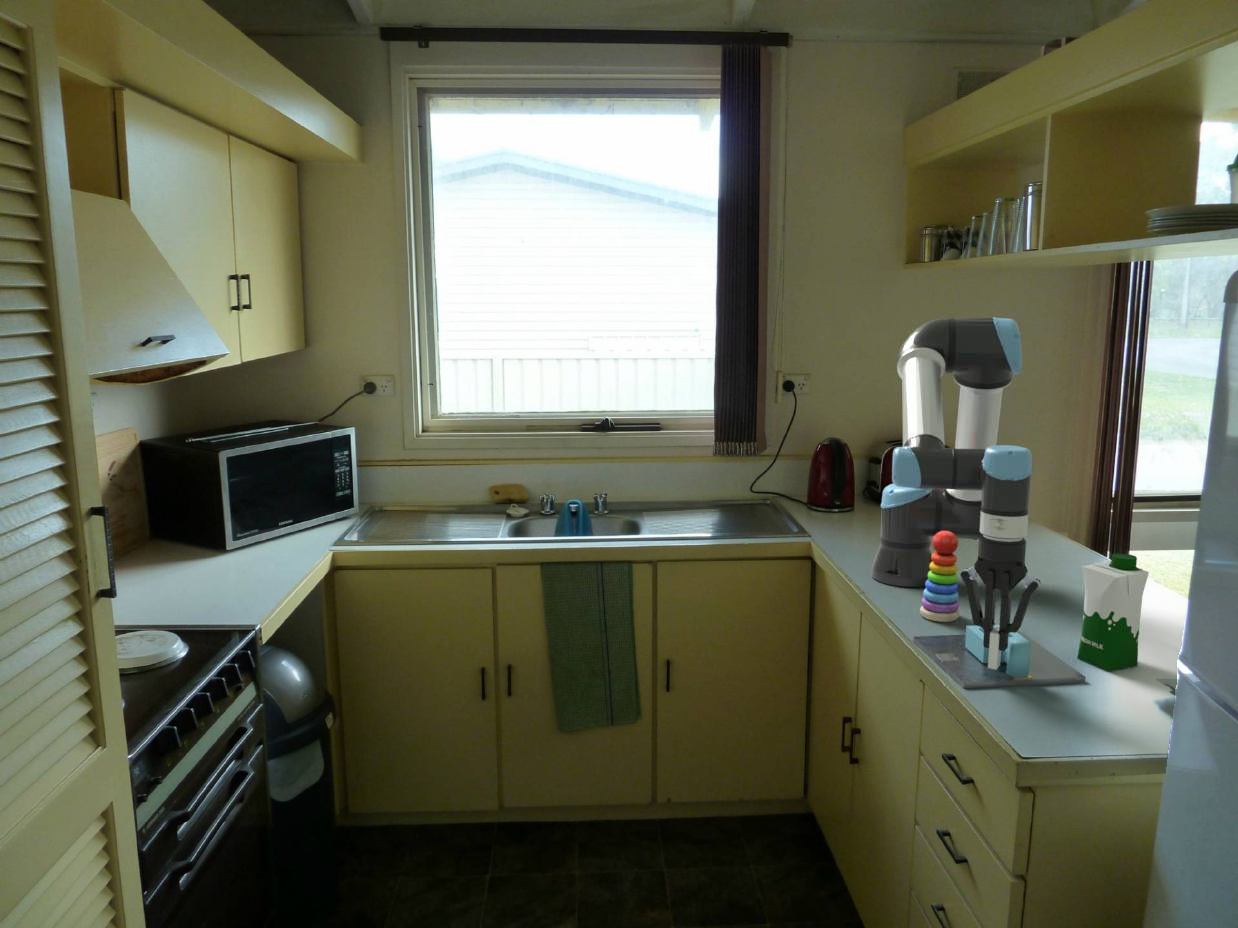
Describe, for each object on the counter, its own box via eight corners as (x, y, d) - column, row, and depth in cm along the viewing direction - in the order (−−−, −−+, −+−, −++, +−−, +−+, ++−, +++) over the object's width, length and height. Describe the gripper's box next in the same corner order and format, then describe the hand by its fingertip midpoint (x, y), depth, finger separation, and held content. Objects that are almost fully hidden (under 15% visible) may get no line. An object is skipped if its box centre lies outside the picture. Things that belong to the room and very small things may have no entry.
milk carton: (1145, 667, 166) (1155, 561, 163) (1108, 674, 163) (1117, 566, 160) (1105, 650, 174) (1113, 548, 171) (1068, 657, 171) (1076, 554, 168)
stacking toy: (921, 621, 191) (925, 534, 187) (918, 609, 198) (922, 525, 195) (961, 624, 189) (966, 536, 186) (956, 611, 197) (961, 527, 193)
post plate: (913, 641, 180) (914, 612, 179) (1020, 636, 182) (1022, 607, 181) (963, 688, 158) (965, 655, 157) (1085, 682, 160) (1087, 649, 159)
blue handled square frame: (1000, 678, 159) (1002, 645, 158) (965, 646, 174) (966, 616, 172) (1044, 677, 159) (1046, 644, 158) (1005, 645, 174) (1007, 615, 173)
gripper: (957, 535, 158) (950, 665, 162) (1039, 546, 150) (1029, 681, 154) (969, 526, 164) (961, 651, 168) (1047, 536, 156) (1038, 667, 160)
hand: (994, 666), depth 161 cm, fingers closed
